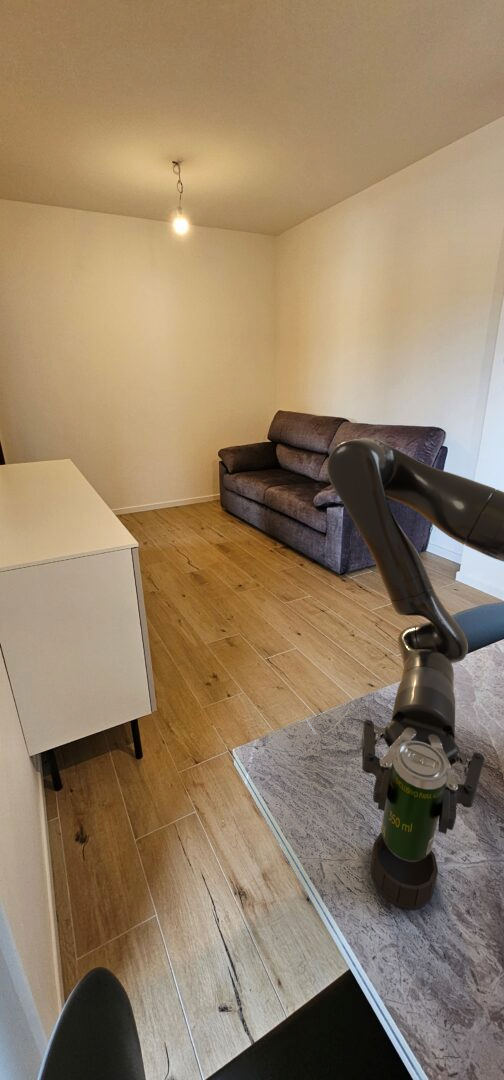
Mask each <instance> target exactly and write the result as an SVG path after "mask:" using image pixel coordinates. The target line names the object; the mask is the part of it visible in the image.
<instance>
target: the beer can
mask: <svg viewBox="0 0 504 1080" xmlns="http://www.w3.org/2000/svg"><path fill="white" fill-rule="evenodd" d="M447 778H448V774H447V763H446V761H445V759H444V757H443V755H442V754H441V753H440V752H439V751H438V750H437V749H435V748H434V747H432V746H431V745H429V744H426V743H424V742H420V741H407V742H404V743H402V744H401V745H399V747H398V749H397V751H396V752H395V754H394V756H393V761H392V767H391V773H390V781H389V787H388V793H387V799H386V804H385V810H384V811H383V815H382V821H381V832H382V836H383V839H384V842H385V844H386V846H387V847H388V849H389V850H390V851H391V852H392V853H393V854H394V855H395V856H396V857H398V858H399V859H401V860H404V861H407V862H418V861H420V860H423V859H424V858H425V857H426V856H427V855H428V854H429V853H430V851H431V850H432V848H433V845H434V839H435V835H436V831H437V826H438V823H439V813H440V808H441V804H442V800H443V796H444V792H445V787H446V783H447Z"/></svg>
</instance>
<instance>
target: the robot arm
mask: <svg viewBox="0 0 504 1080" xmlns="http://www.w3.org/2000/svg"><path fill="white" fill-rule="evenodd" d="M326 472H327V476H328V479H329V481H330V484H331V486H332V487H333V489H334V491H335V493H336V494H337V496H338V498H339V499H340V501H341V503H342V504H343V506H344V507H345V509H346V511H347V512H348V514H349V516H350V517H351V519H352V521H353V523H354V524H355V525H354V526H356V528H357V530H358V532H359V534H360V536H361V537H362V539H363V541H364V543H365V545H366V546H367V549H368V551H369V553H370V555H371V557H372V559H373V562H374V563H375V566H376V568H377V570H378V573H379V576H380V578H381V581H382V583H383V585H384V587H385V591H386V592H387V595H388V598H389V600H390V602H391V605H392V607H393V609H394V612H395V613H396V614H398V615H400V616H406V617H410V616H411V617H413V616H414V617H422V618H425V619H427V620H428V621H429V622H425V623H424V622H423V623H421V624H416V625H412V626H411V625H410V626H409V627H406V628H404V629H403V630H402V631H401V632H400V633H399V635H398V638H397V646H398V649H399V653H400V655H401V659H402V664H403V669H402V675H401V681H400V682H399V685H398V688H397V691H396V696H395V699H394V705H393V709H392V715H391V719H390V723H389V724H387V725H386V726H385V727H379V726H375V723H374V722H373V721H372V720H370V719H366V720H364V721H363V728H362V735H361V769H362V771H363V772H364V773H366V774H372V775H374V777H375V782H374V786H373V792H372V800H373V803H376V804H377V810H380V811H382V812H384V810H385V804H386V799H387V793H388V787H389V781H390V773H391V767H392V761H393V756H394V754H395V752H396V751H397V749H398V747H399V745H401V744H402V743H404V742H407V741H420V742H424V743H426V744H429V745H431V746H432V747H434V748H435V749H437V750H438V751H439V752H440V753H441V754H442V755H443V757H444V759H445V761H446V763H447V774H448V778H447V783H446V787H445V792H444V796H443V800H442V804H441V808H440V813H439V818H438V829H437V831H438V833H442V834H444V835H447V831H448V830H449V831H453V829H454V828H455V825H456V820H457V807H458V804H459V805H461V806H463V807H464V808H467V809H470V808H472V807H473V804H474V800H475V797H476V792H477V789H478V785H479V782H480V778H481V774H482V770H483V766H484V762H485V756H484V755H483V754H482V753H480V752H473V753H472V755H470V754H468V753H465V752H463V751H461V750H460V748H459V746H458V744H457V743H456V741H455V740H456V739H455V737H456V696H455V691H454V690H455V670H454V666H453V664H456V663H460V662H462V661H463V660H464V659H466V657H467V655H468V651H469V643H468V639H467V636H466V633H465V631H463V630H462V628H461V626H460V625H459V624H458V623H457V621H456V620H455V619H454V618H453V616H452V615H451V614H450V612H449V611H448V610H447V609H446V608H445V605H444V604H443V603H442V601H441V600H440V598H439V596H438V595H437V593H436V591H435V589H434V586H433V584H432V582H431V578H430V576H429V574H428V571H427V569H426V567H425V564H424V562H423V560H422V558H421V555H420V554H419V553H418V551H417V548H415V546H414V544H413V543H412V542H411V540H410V539H409V538H408V536H407V535H406V533H405V532H404V531H403V529H402V528H401V526H400V524H399V523H398V521H397V520H396V517H395V515H394V514H393V511H392V509H391V507H390V504H389V502H388V501H389V500H388V499H390V500H392V501H395V502H398V503H400V504H402V505H405V506H407V507H409V508H410V509H413V510H414V511H415V512H417V513H418V514H420V515H421V516H422V517H424V519H426V520H427V521H428V522H429V523H431V524H432V525H433V526H434V527H436V528H437V529H438V531H439V530H440V531H441V532H442V533H443V534H444V535H446V536H448V537H449V538H451V539H452V540H454V541H456V542H458V543H460V544H462V545H463V546H466V547H468V548H469V549H472V550H474V551H476V552H478V553H480V554H483V555H484V556H487V557H489V558H492V559H495V560H498V561H501V562H504V491H502V490H500V489H496V488H494V487H492V486H489V485H486V484H483V483H481V482H478V481H475V480H472V479H469V478H466V477H464V476H461V475H458V474H455V473H452V472H448V471H445V470H442V469H440V468H439V469H438V468H436V467H433V466H430V465H428V464H426V463H424V462H422V461H419V460H418V459H416V458H414V457H412V456H410V455H409V454H406V453H404V452H402V451H401V450H399V449H397V448H395V447H393V446H392V445H390V444H388V443H386V442H385V441H382V440H380V439H377V438H374V437H361V438H355V439H350V440H346V441H343V442H341V443H339V444H338V445H336V446H335V447H334V448H333V450H332V451H331V452H330V454H329V457H328V459H327V463H326ZM381 740H384V742H385V744H386V745H387V747H388V750H387V752H386V753H385V754H384V755H383V756H382V757H381V758H380V757H378V756H377V755H376V747H377V745H379V744H380V742H381ZM456 763H458V764H459V765H460V770H461V771H462V773H463V774H462V775H463V776H464V777H465V780H464V782H463V784H462V783H457V780H456V779H455V778H456V777H455V776H454V774H453V772H452V771H453V770H452V766H453V765H454V764H456Z"/></svg>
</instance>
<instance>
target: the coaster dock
mask: <svg viewBox="0 0 504 1080" xmlns="http://www.w3.org/2000/svg"><path fill="white" fill-rule="evenodd" d="M438 872H439V869H438V863H437V858H436V855H435V853H434V852H433V849H431V851H430V853H429V854H428V855H427V856H426V857H425V858H424V859H423V860H420V861H418V862H407V861H404V860H401V859H399V858H398V857H396V856H395V855H394V854H393V853H392V852H391V851H390V850H389V849H388V847H387V846H386V844H385V842H384V839H383V836H382V831H381V832H380V833H379V834H378V836H377V838H375V841H374V842H373V846H372V853H371V859H370V876H371V879H372V882H373V884H374V887H375V888H376V890H377V891H378V892H379V894H380V895H381V896H382V897H383V898H384V899H385V900H386V901H387V902H389V903H391V904H392V905H394V906H396V907H398V908H400V909H404V910H410V911H411V910H412V911H414V910H419V909H422V908H424V907H425V906H426V905H428V904H429V903H430V901H431V900H432V898H433V896H434V892H435V887H436V883H437V879H438V874H439V873H438Z"/></svg>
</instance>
